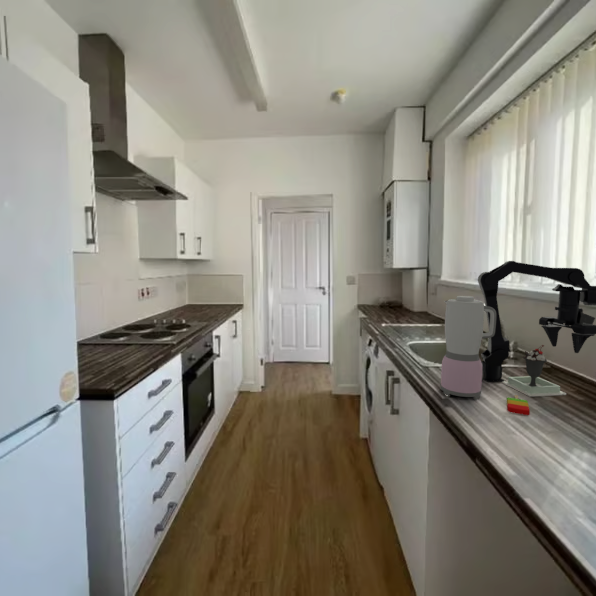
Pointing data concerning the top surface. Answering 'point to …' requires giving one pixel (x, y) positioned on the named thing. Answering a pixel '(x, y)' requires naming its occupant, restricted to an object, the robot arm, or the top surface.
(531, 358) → the sundae
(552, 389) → the holder cell
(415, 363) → the top surface
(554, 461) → the top surface
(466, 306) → the blender
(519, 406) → the popsicle
